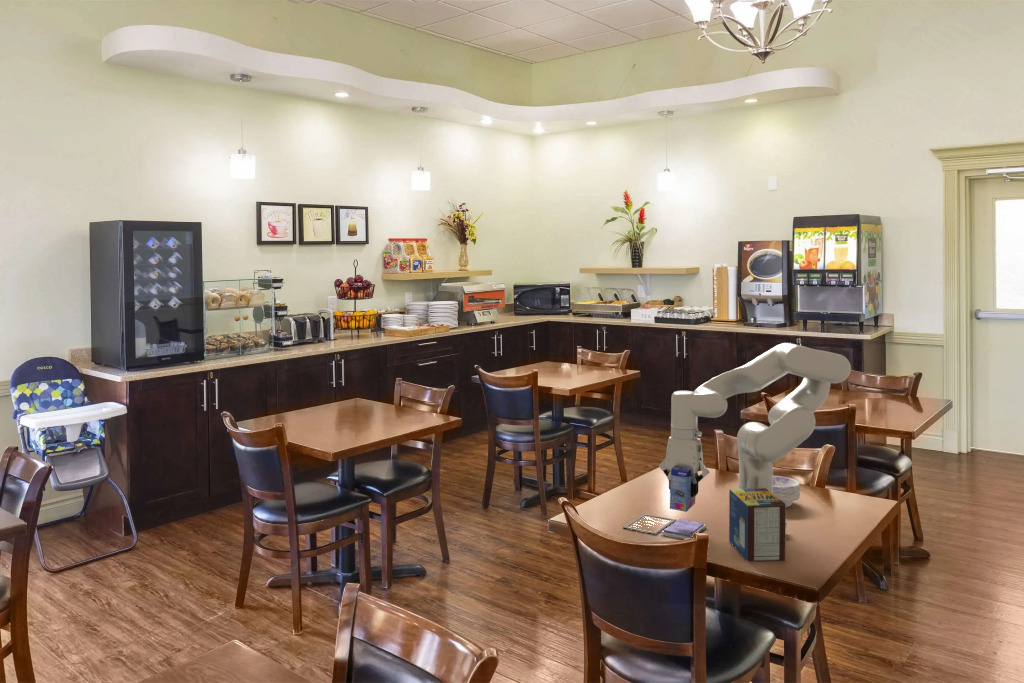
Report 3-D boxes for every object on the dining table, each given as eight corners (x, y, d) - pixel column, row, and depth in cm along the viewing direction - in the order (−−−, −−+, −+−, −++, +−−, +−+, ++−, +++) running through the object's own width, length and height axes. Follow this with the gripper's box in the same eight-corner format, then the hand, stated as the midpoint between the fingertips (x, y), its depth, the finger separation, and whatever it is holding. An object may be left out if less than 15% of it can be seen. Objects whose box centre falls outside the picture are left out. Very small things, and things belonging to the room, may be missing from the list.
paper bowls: (792, 497, 257) (792, 474, 256) (805, 511, 242) (805, 487, 241) (746, 497, 258) (746, 474, 258) (755, 511, 243) (756, 486, 242)
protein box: (764, 540, 218) (765, 487, 216) (785, 561, 202) (786, 503, 201) (728, 541, 217) (728, 488, 216) (746, 562, 202) (747, 505, 200)
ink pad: (706, 527, 229) (706, 523, 228) (689, 540, 218) (689, 535, 218) (678, 522, 234) (678, 518, 233) (661, 535, 223) (661, 530, 223)
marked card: (675, 521, 235) (675, 519, 235) (655, 535, 223) (655, 533, 223) (644, 515, 241) (644, 513, 241) (622, 528, 229) (622, 526, 229)
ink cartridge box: (688, 512, 220) (688, 462, 218) (669, 509, 222) (669, 460, 221) (696, 503, 228) (697, 455, 227) (678, 500, 231) (679, 453, 229)
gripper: (717, 434, 221) (716, 495, 223) (662, 427, 231) (661, 486, 233) (707, 439, 215) (706, 502, 217) (651, 432, 225) (650, 492, 227)
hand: (683, 493), depth 225 cm, fingers closed on ink cartridge box, 5 cm apart
